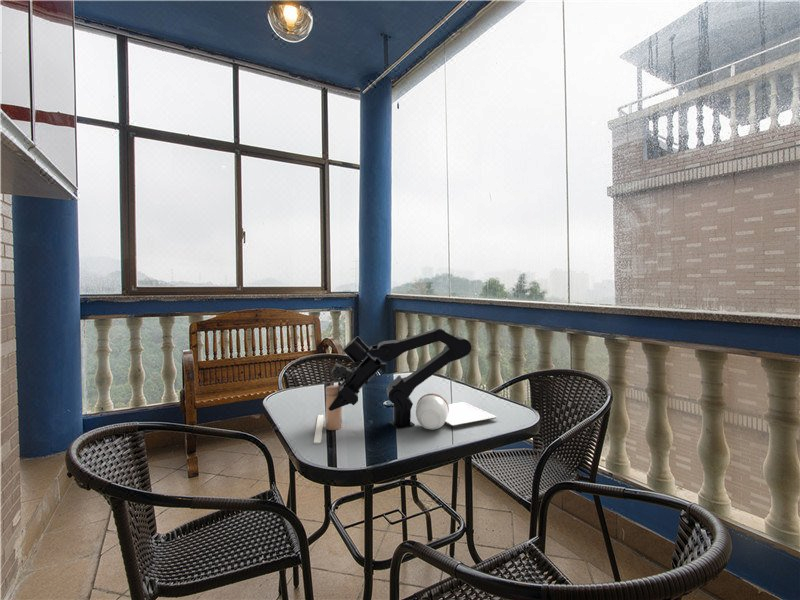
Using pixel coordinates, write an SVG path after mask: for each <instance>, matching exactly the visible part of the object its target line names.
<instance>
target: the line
mask: <svg viewBox="0 0 800 600" xmlns="http://www.w3.org/2000/svg"><path fill="white" fill-rule="evenodd" d="M324 418H325V414H318V415H317V418H316V425H315V430H314V431H315V433H314V439H313V444H314V445H315V444H321V443H322V437H323V426H324Z"/></svg>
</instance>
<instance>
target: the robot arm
mask: <svg viewBox="0 0 800 600" xmlns="http://www.w3.org/2000/svg"><path fill="white" fill-rule="evenodd" d="M437 342H440V343H443V344H445V346H444V348H443V349H442V350H441V352H439V353H438V354H436V355H435V356H434V357H432V358H431V359H429V360H428V361H427V362H426V363H424V364H423V365H421V366H420V367H418V368H416V370H415V371H413V372H411V374H409V375H407V376H405V377H402V376H401V375H398V376H396V377H395V378H394V379H393V380H390V381H389V383H388V386H386V395H387V397H388V400H389V401H390V403H392V404H393V409H392V411H393V414H392V415H393V416H392V420H389V421H388V423H389V424H390V425H392V426H393V427H394V428H396V429H404V428H408V427H415V423H414V422H412V421H411V419H412V417H411V416H412V414H411V413H412V411H411V410H412V408H413V405H414V403H413V401H412V399H411V398H410V396H411V395H412V393H413V392H414V390H415V389H416V388H417V387H418V386H420V385H421V384H423V383H424V382H425V381H427V380H428V379H429V378H430V377H432V376H433V375H434V374H437V372H438V371H440V370H441V369H444V367H446V366H447V365H448V364H449V363H452V362H455V361H459V360H460V359H463V358H465V357H466V356H468V355H470V353H471V351H472V344H471V342H470V341H469V340H468V339H466V338H464V337H462V336H454V335H452V334H450V333H449V332H446V331H445V330H444V329H442V328H440V327H435V328H433V329H431V330H428V331H425V332H422V333H419V334H416V335H411V336H408V337H405V338H402V339H391V340H384V341H381V342H378V343H377V344H374V345H370V346H368V345H367V344H366V343H365V342H364V341H363V340H362V339H361V338H360V336H356V337H355V338H353V339H352V340H350V341H349V342H348V343H347V344H346V345H345V346H344V347H343V348H342V349H341V351H342V352H343V353H344V354H345V355H346V356H347V357H348V358H349V359H350V360H351V361H352V362H353V363H359V365H357V367H353V368H349V367H347V366H344V365H342V364H340V363H338V362H335V363H334V365H333V368H332V370H331V375H332V376H334V377H338V379H339V381H337V385H338V386H341V388H340V389H339V388H338V396H337V397H336V398H335V400H334V401H333V402H332V404H331V405H330V407H329V408H328V409H329V410H330V411H332V410H335V409H337V408H340V407H342V408H343V407H345V406H347V405H348V406H349V405H352V406H355V405H356V404H358V402H359V393H360V390H361V389H362V388H363V387H364V386H365V385H368V384H369V381H370V379H372V378H373V377H374V376H375V375H376V374H377V372H379V371H380V370H381V371H382V372H383V373H385V374H386V372H387V363H386V362H390V361H392V360H394V359H396V358H398V357H399V356H401V355H402V354H404V353H407V352H408V351H412V350H414V349H415V350H416V349H418V348H421V347H425V346H427V345H431V344H434V343H437ZM382 361H383V362H382Z"/></svg>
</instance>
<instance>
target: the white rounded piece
mask: <svg viewBox="0 0 800 600" xmlns="http://www.w3.org/2000/svg"><path fill="white" fill-rule="evenodd" d="M448 414H449V407H448V402H447V400H446V399H445V398H444V397H443V396H441V395H440V394H437V393H427V394H424V395H422V396H421V397H420V398H419V399H418V401H417V403H416V407H415V417H416V420H417V422H418V423H419V425H420V426H421V427H423V428H424V429H427V430H431V431H434V430H437V429H440V428H441V427H443V426H444V425H445V424H446V420H447V417H448Z"/></svg>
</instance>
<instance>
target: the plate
mask: <svg viewBox="0 0 800 600" xmlns="http://www.w3.org/2000/svg"><path fill="white" fill-rule="evenodd" d="M447 404H448V403H447ZM448 407H449V414H448V417H447V420H446V422H445V424H448V425H449V426H451V427H459V426H464V425H470V424H474V423H475V422H476V423H479V422H480V421H481V422H485V420H486V421H490V420H494V419H497V417H498V416H496V415H494V414H492V413H490V412H488V411H486V410H483V409H481V408H479V407H476V406H474V405H471V404H470V403H467V402H466V401H461V402H460V401H459V402H454V403H449V404H448ZM481 422H480V423H481Z"/></svg>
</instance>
